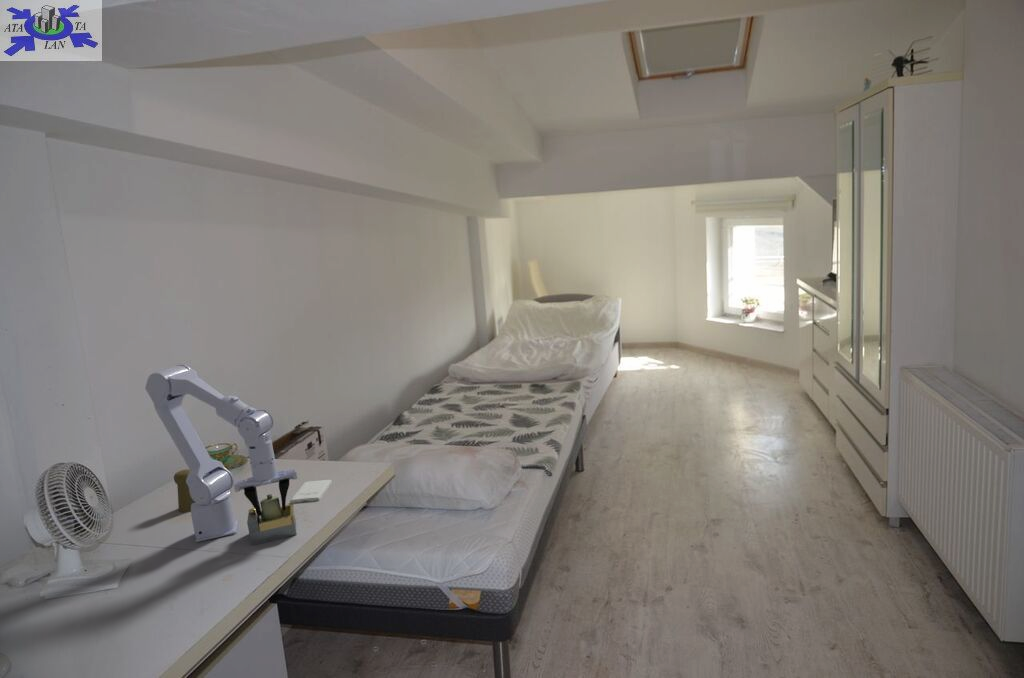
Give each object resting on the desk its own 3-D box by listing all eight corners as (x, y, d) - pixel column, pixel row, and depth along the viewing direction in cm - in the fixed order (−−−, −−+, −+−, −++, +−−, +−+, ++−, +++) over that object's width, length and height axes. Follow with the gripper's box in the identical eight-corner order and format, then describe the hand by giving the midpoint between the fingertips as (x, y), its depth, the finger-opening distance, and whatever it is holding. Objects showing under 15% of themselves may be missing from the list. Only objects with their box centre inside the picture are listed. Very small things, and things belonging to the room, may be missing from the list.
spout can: (263, 526, 161) (258, 502, 160) (264, 519, 165) (260, 495, 164) (281, 522, 162) (277, 498, 161) (282, 515, 166) (278, 491, 165)
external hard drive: (332, 484, 194) (319, 502, 182) (305, 486, 194) (290, 504, 182) (331, 479, 194) (318, 496, 181) (304, 481, 194) (289, 499, 182)
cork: (206, 502, 189) (199, 466, 187) (194, 511, 183) (186, 474, 181) (186, 503, 189) (179, 467, 187) (174, 512, 183) (166, 476, 181)
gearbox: (251, 545, 159) (246, 519, 157) (253, 531, 166) (248, 506, 165) (296, 534, 162) (291, 509, 161) (295, 521, 169) (291, 497, 168)
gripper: (229, 471, 155) (239, 524, 157) (293, 458, 159) (302, 510, 162) (231, 462, 161) (241, 513, 164) (293, 450, 166) (301, 500, 168)
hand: (271, 511), depth 163 cm, fingers open, 5 cm apart
